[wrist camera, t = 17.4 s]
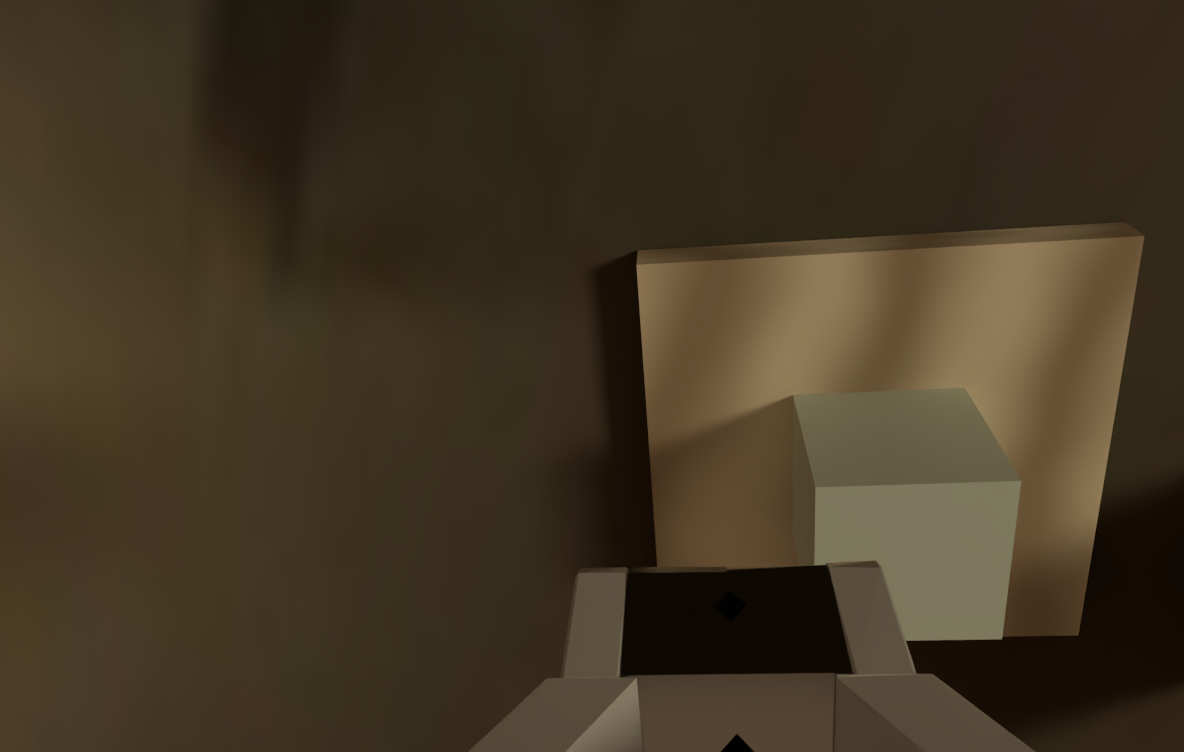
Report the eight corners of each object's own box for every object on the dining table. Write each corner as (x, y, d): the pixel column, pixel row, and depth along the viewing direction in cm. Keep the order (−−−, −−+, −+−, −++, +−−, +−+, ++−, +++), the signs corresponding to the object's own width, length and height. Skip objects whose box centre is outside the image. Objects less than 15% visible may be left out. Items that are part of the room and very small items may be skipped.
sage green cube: (964, 387, 33) (1021, 480, 28) (952, 528, 36) (1001, 639, 30) (792, 394, 34) (815, 487, 28) (792, 532, 36) (813, 642, 31)
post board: (1124, 222, 32) (1220, 288, 26) (1064, 609, 39) (1129, 728, 33) (637, 250, 33) (630, 318, 28) (663, 617, 40) (661, 731, 35)
